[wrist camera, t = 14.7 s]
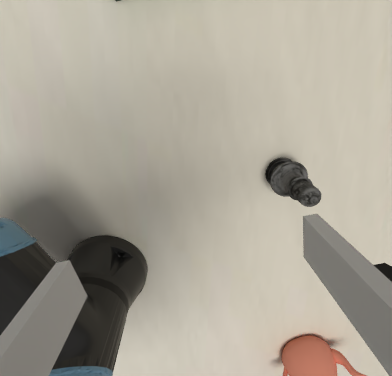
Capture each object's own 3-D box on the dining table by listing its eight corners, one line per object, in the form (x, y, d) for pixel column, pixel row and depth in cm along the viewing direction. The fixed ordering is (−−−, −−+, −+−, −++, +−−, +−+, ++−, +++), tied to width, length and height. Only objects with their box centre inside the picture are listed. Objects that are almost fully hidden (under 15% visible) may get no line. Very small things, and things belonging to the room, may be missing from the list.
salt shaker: (275, 150, 38) (311, 173, 27) (304, 164, 39) (350, 191, 28) (257, 180, 40) (284, 214, 29) (285, 193, 41) (322, 229, 30)
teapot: (264, 345, 57) (279, 391, 48) (336, 320, 55) (365, 364, 46) (279, 372, 61) (295, 419, 52) (347, 350, 59) (375, 395, 50)
